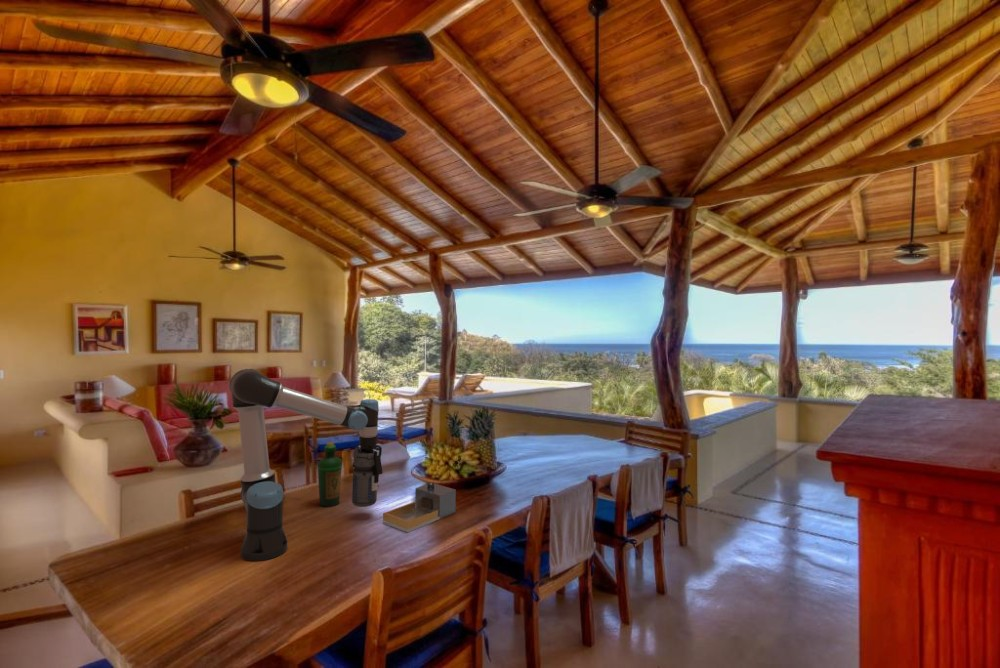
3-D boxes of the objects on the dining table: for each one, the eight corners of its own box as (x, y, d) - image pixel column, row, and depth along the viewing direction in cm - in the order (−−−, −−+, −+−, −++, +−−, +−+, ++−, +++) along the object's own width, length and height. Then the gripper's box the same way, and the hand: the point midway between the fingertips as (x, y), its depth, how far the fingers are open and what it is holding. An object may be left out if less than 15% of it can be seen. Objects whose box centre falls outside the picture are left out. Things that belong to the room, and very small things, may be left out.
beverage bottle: (385, 502, 208) (388, 444, 208) (359, 510, 198) (361, 449, 198) (372, 496, 214) (374, 441, 215) (345, 504, 204) (347, 445, 205)
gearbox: (407, 532, 190) (407, 502, 190) (382, 523, 199) (383, 494, 199) (455, 512, 212) (455, 485, 212) (431, 504, 221) (431, 478, 221)
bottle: (336, 508, 215) (337, 445, 214) (313, 507, 215) (314, 445, 215) (345, 500, 225) (345, 440, 225) (322, 499, 225) (323, 440, 225)
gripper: (392, 438, 203) (390, 491, 202) (359, 430, 216) (357, 480, 216) (378, 441, 197) (376, 495, 196) (345, 433, 210) (343, 483, 210)
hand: (366, 487), depth 206 cm, fingers closed on beverage bottle, 10 cm apart
